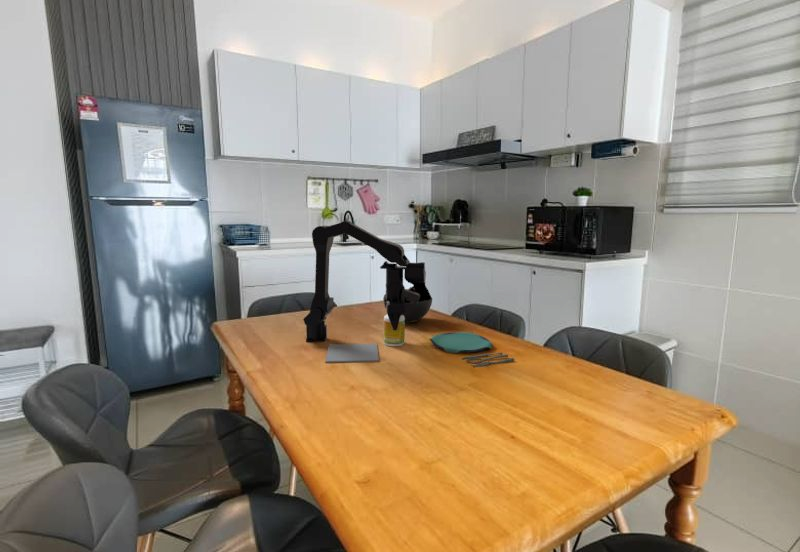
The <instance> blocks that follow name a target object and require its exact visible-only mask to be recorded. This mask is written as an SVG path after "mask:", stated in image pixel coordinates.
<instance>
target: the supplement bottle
mask: <svg viewBox="0 0 800 552" xmlns="http://www.w3.org/2000/svg"><path fill="white" fill-rule="evenodd" d="M405 325H406V322H405V317H404V316H403V315H401V316H400V319H399V323H398V327H397V330H393V327H392V325H391V322H390V319H389V317H388V314H385V315H384V316H383V344H384V345H385V346H387V347H402V346H404V344H405V334H406V333H405V332H406V330H405Z"/></svg>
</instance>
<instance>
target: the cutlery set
mask: <svg viewBox="0 0 800 552" xmlns="http://www.w3.org/2000/svg"><path fill="white" fill-rule="evenodd" d="M429 341H430V342H431V343H432V345H433V347H436V348H438V349H441V350H444V352H446V353H448V354H449V353H451V354H458V353H463V354H464V353H466V354H467V353H476V352H482V351H484V350H486V349H488V348H489V350H491V349H492V348H493V343H492V342H491V340H489V339H488V338H486V337H484V336H482V335H479V334H478V333H473V332H467V331H457V332H454V331H453V332H444V333H438V334H434V335H433V336H432V337H430V339H429ZM493 355H494V356H493ZM489 356H491V357H489ZM485 357H487V358H485ZM508 357H509V354H507V353H505V354H503V352H502V351H501V352H496V353H481V354H479V355H469V356H464V357H461V360H466V361H465V362H466V363H468V364H471V367H473V368H481V367H488V366H490V365H499V364H504V363H505V362H506V363H510V362H515V358H514V357H510V358H508ZM483 358H485V359H483ZM500 358H501V359H502V358H506V359H503V360H499V361H490V360H493V359H500ZM472 361H475V362H472ZM483 361H484V362H483ZM506 363H505V364H506Z"/></svg>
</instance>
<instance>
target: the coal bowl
mask: <svg viewBox="0 0 800 552" xmlns="http://www.w3.org/2000/svg"><path fill="white" fill-rule="evenodd" d="M405 281H406V282H408V281H407V280H406V279H405ZM410 284H412V286H411V287H412V288H414V289H415V292H417V293H418V294H419V295H420V298H419V300H418V303H417V304H414V303H413V302H410V301H407V300H405V302H404V303H405V305H406V312H405V313H404V314H402V315H403V316H404V317H405V323H413V322H417V321H419V320H422V319H423V318H424V317H425V316H427V314H428V312H429V311H430V309H431V307H432V304H433V297H432V295H431V293H430V291H429V289H428V288H427V286H426V282H425V283H410ZM382 301H383V304H384V303H387V301H386V302H384V297H383V299H382ZM383 306H384V307H385V304H384V305H383ZM384 309H386V307H385V308H384Z"/></svg>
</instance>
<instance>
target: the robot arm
mask: <svg viewBox="0 0 800 552" xmlns="http://www.w3.org/2000/svg"><path fill="white" fill-rule="evenodd" d="M344 234H346V235H348V236H350V237H352V238H353V239H355V240H356V241H358V242H360V243H362V244H365V245H366V246H367V247H370V248H372V249H373V250H375V252H377V253H378V254H379V255H380V257H383V258H384V259H385V261H383V264H382V265H380V267H379V268H380V270H381V269H384V270H385V294H384V295H383V298H384V300H383V304H385V305H384V307H386V308H385V310H386V313H387V314H388V317H389V319H390V322H391V325H392V327H393V330H397V327H398V323H399V319H400V316H401V315H402V314H404V313H405V312H406V305H405V303H404V302H405V300H407V301H410V302H413V303H414V304H417V303H418V300H419V298H420V295H419V294H418V293H417V292H415V289H414V288H412V287H413V286H410V287H409V288H405V285H404V280H405V281H406V280H407V281H406V282H407V283H409V284H411V283H425V284H426V276H427V271H426V266H425V265H426V262H410V260H409V259H408V257H407V256H406V254H405V249H404V247H403V246H402V245H400V244H399V243H395V242H393V241H390V240H385V239H383V238H380V237H378V236H377V235H374V234H373V233H372V232H369V231H367V230H366V229H364V228H362V227H360V226H358V225H357V224H354V223H353V222H352V221H350V220H343V221H341V222H338V223H336V224H331V225H321V226H320V225H319V226H316V227H314V229H312V232H311V238H312V244H313V247H314V250H315V279H314V281H315V282H314V295H313V298H312V301H311V303H310V308H309V312H308V314H306V316H305V317H304V318H303V320H302V321H303V322H304V325H305V326H306V328H305V329H306V339H305V342H307V343H308V342H309V343H310V342H325V341H326V339H327V338H328V325H327V324H326V320H327V317H328V316H329V315H330V314H331V313H332V310H333V309H334V308H335V307H334V300H335V299H334V297H331V296H330V294H329V281H330V280H329V277H330V276H329V275H330V273H329V272H330V252H331V249H332V247H333V244H334V239H335V237H338V236H341V235H344ZM386 301H387V303H384V302H386ZM387 314H386V315H387Z"/></svg>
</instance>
